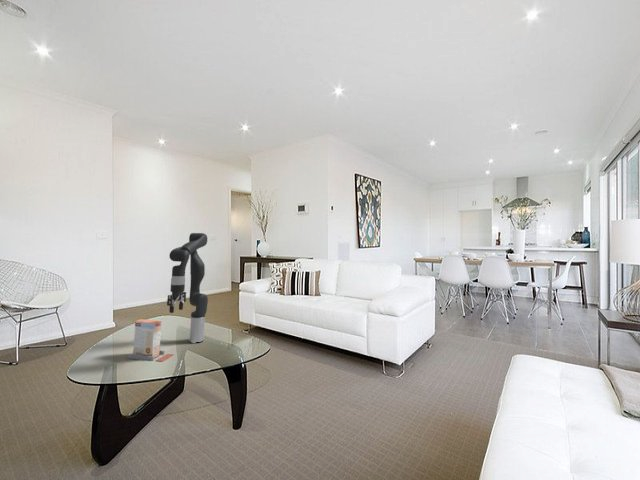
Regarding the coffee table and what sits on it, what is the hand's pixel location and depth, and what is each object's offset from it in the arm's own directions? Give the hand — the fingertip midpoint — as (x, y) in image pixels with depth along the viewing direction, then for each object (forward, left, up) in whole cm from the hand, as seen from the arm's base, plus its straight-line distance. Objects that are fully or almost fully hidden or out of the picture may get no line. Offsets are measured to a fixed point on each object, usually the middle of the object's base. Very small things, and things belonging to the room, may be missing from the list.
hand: (176, 311), depth 176 cm
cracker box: (-1, -17, -28) cm, 33 cm away
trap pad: (-1, -5, -28) cm, 29 cm away
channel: (-1, -17, -28) cm, 33 cm away
